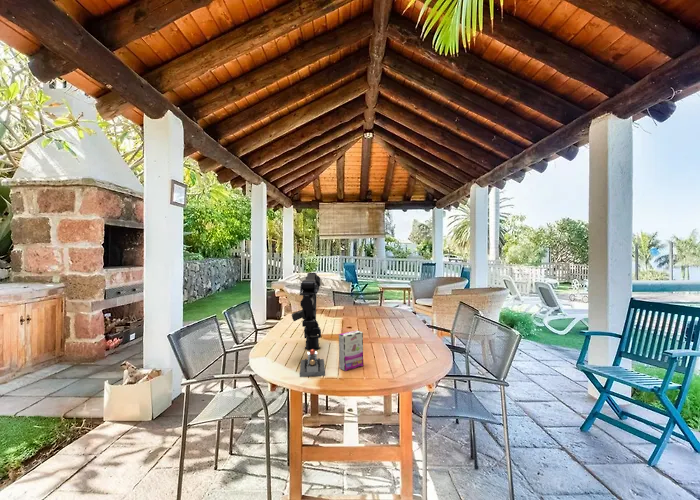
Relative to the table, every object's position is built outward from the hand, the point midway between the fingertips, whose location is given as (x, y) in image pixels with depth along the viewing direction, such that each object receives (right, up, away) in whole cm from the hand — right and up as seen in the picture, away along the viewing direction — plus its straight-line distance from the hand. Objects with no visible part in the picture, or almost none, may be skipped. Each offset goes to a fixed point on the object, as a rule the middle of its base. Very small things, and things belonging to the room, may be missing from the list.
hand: (308, 336), depth 172 cm
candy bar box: (+21, -12, -10) cm, 27 cm away
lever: (+3, -10, -14) cm, 17 cm away
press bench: (+3, -12, -14) cm, 19 cm away
